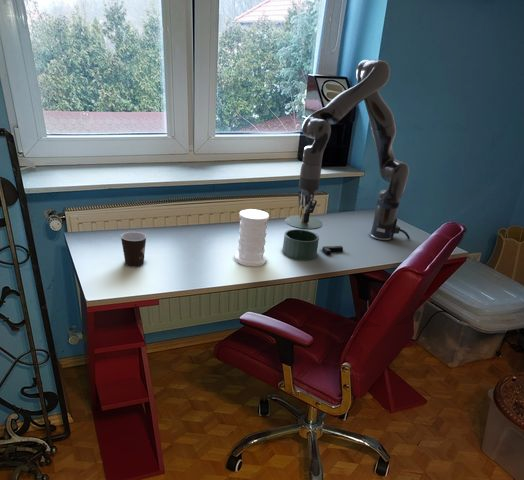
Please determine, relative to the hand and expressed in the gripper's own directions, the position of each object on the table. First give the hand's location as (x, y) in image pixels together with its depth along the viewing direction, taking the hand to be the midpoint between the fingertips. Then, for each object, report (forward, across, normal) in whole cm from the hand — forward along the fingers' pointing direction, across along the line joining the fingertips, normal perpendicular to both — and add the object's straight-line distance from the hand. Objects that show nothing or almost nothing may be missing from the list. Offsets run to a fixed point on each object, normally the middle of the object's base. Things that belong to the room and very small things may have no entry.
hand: (304, 220), depth 205 cm
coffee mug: (+13, -3, +64) cm, 66 cm away
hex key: (+14, 0, -15) cm, 20 cm away
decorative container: (+13, -5, +22) cm, 26 cm away
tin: (+13, 0, 0) cm, 13 cm away
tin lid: (+1, 0, 0) cm, 1 cm away
